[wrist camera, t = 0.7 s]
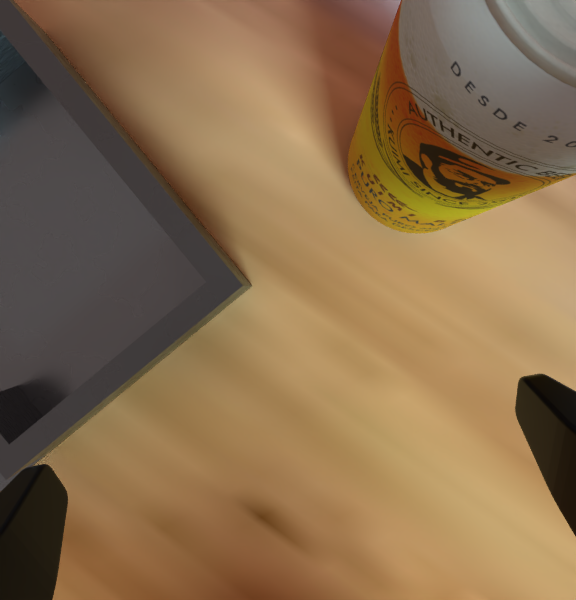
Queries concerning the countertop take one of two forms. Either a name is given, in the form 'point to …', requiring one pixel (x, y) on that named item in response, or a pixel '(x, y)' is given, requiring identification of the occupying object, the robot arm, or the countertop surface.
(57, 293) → the keyhole plate
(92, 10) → the countertop surface
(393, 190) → the beer can
